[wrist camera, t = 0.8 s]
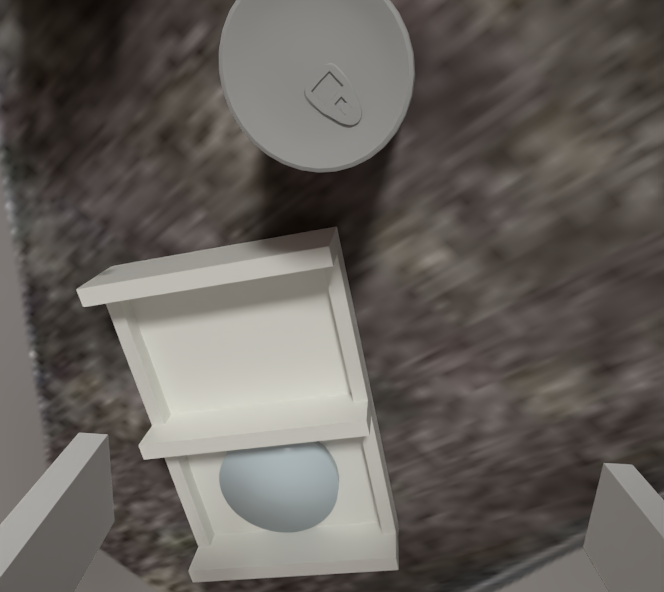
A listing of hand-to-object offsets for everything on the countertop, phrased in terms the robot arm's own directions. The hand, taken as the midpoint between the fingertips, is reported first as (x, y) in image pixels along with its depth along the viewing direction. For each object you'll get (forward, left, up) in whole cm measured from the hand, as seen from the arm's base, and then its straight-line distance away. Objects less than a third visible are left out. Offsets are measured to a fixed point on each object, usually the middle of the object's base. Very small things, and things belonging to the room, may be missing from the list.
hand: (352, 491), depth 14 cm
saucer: (+10, +16, -21) cm, 28 cm away
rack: (+10, +10, -22) cm, 26 cm away
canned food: (0, -11, -22) cm, 25 cm away
